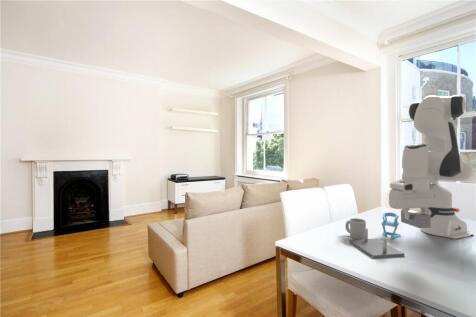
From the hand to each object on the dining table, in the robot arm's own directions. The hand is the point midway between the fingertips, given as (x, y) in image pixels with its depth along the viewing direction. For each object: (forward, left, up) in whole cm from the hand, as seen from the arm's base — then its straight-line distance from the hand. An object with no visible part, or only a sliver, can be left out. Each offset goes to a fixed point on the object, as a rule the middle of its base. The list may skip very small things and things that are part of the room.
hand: (414, 218), depth 94 cm
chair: (-10, -25, -17) cm, 32 cm away
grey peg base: (+8, -12, -17) cm, 22 cm away
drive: (0, 0, -3) cm, 3 cm away
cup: (+8, -27, -17) cm, 33 cm away
